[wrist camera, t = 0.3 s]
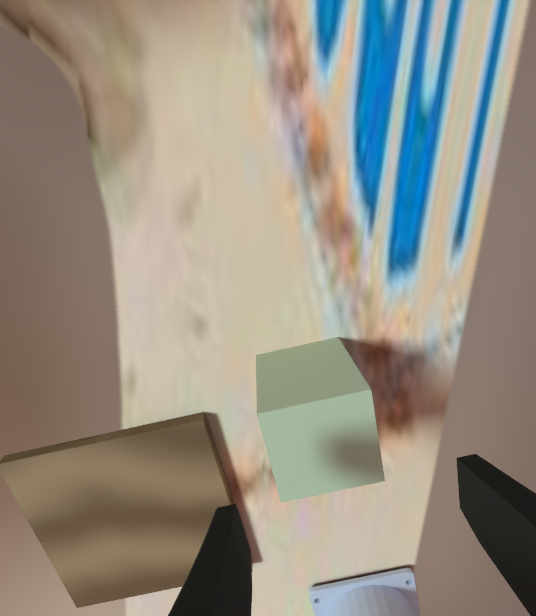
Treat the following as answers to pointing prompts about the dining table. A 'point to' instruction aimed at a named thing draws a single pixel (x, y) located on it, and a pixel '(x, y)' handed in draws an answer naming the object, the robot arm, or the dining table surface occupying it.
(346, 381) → the sage block
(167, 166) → the dining table surface
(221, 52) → the dining table surface
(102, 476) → the walnut base board
